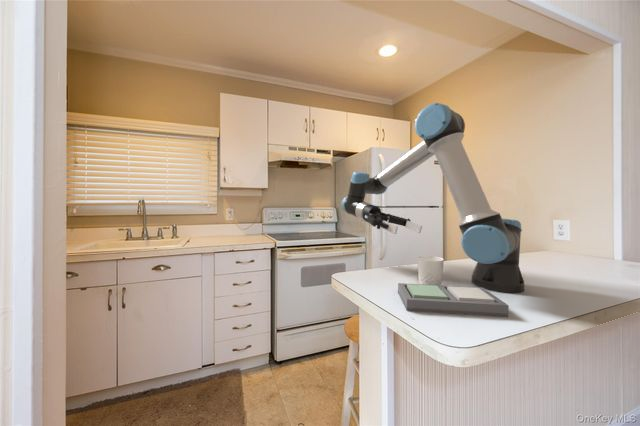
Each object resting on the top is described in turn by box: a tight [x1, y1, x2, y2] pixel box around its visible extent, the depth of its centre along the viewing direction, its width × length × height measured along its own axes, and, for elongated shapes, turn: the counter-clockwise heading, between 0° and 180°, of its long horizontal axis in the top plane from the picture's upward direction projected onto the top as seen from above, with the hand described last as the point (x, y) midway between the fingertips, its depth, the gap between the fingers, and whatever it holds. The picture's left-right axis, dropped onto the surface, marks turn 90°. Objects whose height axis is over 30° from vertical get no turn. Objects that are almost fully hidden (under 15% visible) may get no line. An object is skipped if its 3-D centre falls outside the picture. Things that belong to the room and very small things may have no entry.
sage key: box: [406, 283, 448, 300], centre depth 74 cm, size 9×9×1 cm
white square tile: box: [446, 285, 495, 302], centre depth 73 cm, size 9×9×1 cm
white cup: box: [417, 255, 445, 285], centre depth 86 cm, size 8×8×10 cm
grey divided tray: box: [397, 282, 509, 318], centre depth 73 cm, size 25×13×3 cm, turn 83°
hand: (409, 229), depth 92 cm, fingers open, 13 cm apart
